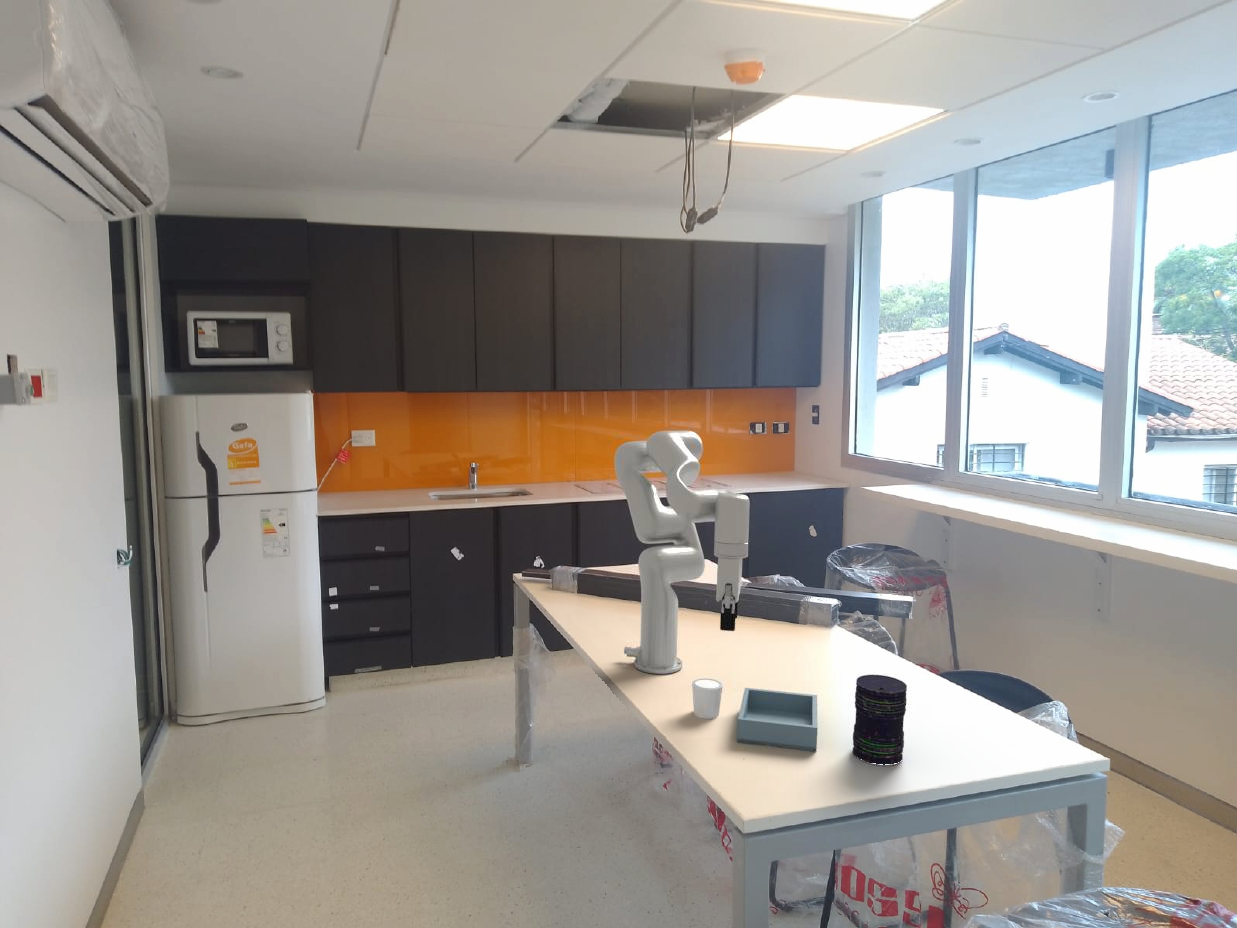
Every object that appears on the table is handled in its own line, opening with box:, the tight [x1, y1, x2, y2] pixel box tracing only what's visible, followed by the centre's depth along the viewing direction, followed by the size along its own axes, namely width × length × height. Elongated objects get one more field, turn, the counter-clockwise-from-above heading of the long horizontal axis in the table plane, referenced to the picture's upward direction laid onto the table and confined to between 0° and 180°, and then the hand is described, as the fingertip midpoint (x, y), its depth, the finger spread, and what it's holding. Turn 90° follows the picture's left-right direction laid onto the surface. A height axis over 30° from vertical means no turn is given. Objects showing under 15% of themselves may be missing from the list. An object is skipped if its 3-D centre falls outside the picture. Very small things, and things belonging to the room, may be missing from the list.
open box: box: [736, 687, 818, 752], centre depth 179 cm, size 16×18×5 cm
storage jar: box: [852, 674, 908, 765], centre depth 167 cm, size 10×10×15 cm
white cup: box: [691, 678, 724, 720], centre depth 186 cm, size 7×7×7 cm
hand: (728, 623), depth 187 cm, fingers open, 9 cm apart
